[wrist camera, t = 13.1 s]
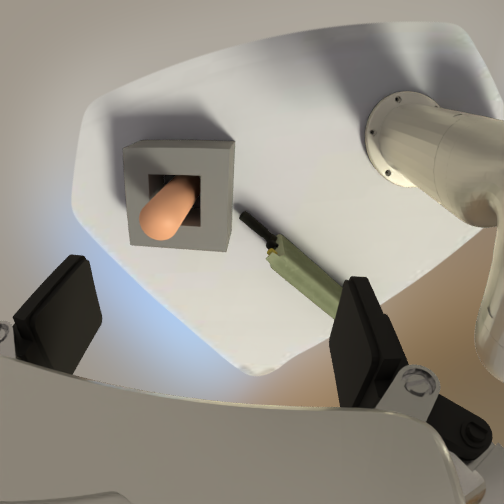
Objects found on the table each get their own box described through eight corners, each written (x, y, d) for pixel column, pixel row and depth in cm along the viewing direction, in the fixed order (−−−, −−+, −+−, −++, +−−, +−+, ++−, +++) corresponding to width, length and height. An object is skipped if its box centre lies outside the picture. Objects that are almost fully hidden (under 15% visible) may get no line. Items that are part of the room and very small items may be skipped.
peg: (202, 171, 39) (177, 202, 29) (202, 200, 41) (179, 241, 31) (172, 170, 39) (137, 200, 29) (172, 199, 41) (140, 239, 31)
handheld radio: (352, 319, 50) (233, 219, 43) (368, 306, 49) (249, 202, 42) (362, 346, 44) (229, 240, 37) (380, 333, 43) (248, 220, 36)
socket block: (235, 141, 38) (229, 149, 32) (231, 231, 43) (226, 252, 38) (141, 140, 38) (122, 148, 32) (146, 225, 43) (130, 245, 38)
